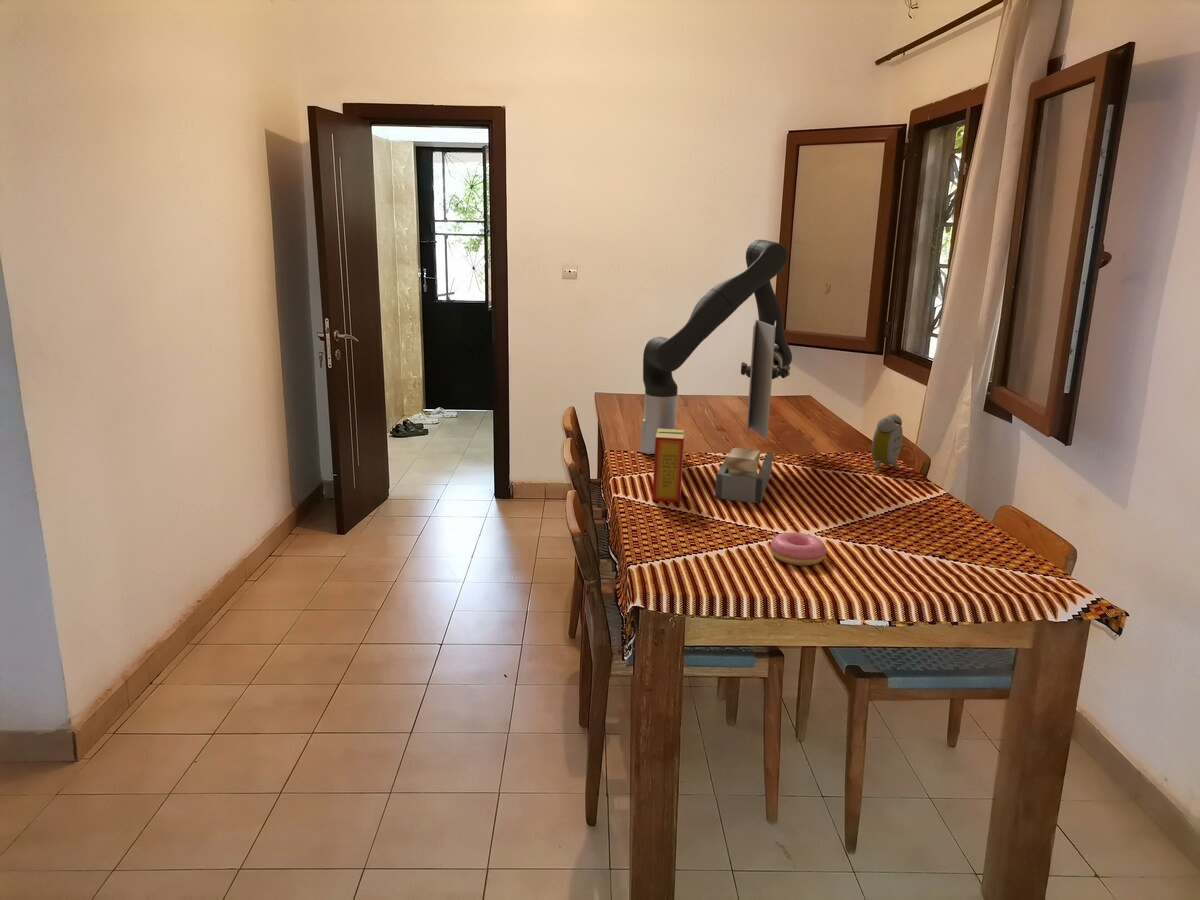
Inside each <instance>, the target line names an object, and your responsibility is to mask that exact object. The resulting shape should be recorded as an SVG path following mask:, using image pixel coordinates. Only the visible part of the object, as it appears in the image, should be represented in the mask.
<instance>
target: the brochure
mask: <svg viewBox="0 0 1200 900" xmlns="http://www.w3.org/2000/svg"><path fill="white" fill-rule="evenodd" d="M752 329H753V330H752V343H751V357H750V366H751V371H750V377H749V386H748V387H749V388H748V389H749V390H748V403H747V417H746V418H747V420H746V430H745V431H746V433H745V436H746V437H745V439H748V435H749V431H750V429H751V430H752V431H754V433H756V434H758V435H759V436H760V437H761V438H763V439H764V440H765V441H768V433H769V424H770V410H771V409H770V407H771V396H772V395H771V394H772V385H773V384H772V381H773V379H772V370H773V357H774V345H775V344H776V343H775V330H776V321H775V325H774V326H772V325H769V324H767V323H764V322H761V321H759V319H755V321H754V324H753V328H752ZM753 366H754V367H753Z"/></svg>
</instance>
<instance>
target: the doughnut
mask: <svg viewBox="0 0 1200 900" xmlns="http://www.w3.org/2000/svg"><path fill="white" fill-rule="evenodd" d="M770 541H771V542H770V544H769V545H770V551H771V554H772V555H773V556H774V557H775V558H776V559H777V560H778V561H780V562H783V563H784V564H785V563H786V564H789V565H792V566H793V565H794V566H802V567H803V566H804V567H805V566H807V567H808V566H813V565H817V564H819V563H821V562H822V561H823V560H824V559H825V557H826V555H827V553H828V552H827V547H826V544H825V543H824V542H823V541H822V540H821V539H820V538H818V537H816V536H815V535H811V534H810V533H808V534H807V533H802V532H782V533H780V534H777V535H774V537H773V538H772V539H770Z"/></svg>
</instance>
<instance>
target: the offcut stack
mask: <svg viewBox="0 0 1200 900" xmlns="http://www.w3.org/2000/svg"><path fill="white" fill-rule="evenodd" d="M728 454H729V453H728ZM728 454H727V456H726V457H727V467H726V468H727V469H729V474H734V475H743V476H751V477H757V476H758V467H759V466H758V465H759V463H760V457H761V456H760V455H761V450H758V449H749V448H742V447H734V449H733V450H732V452H731V453H730V454H729V455H728Z"/></svg>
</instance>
